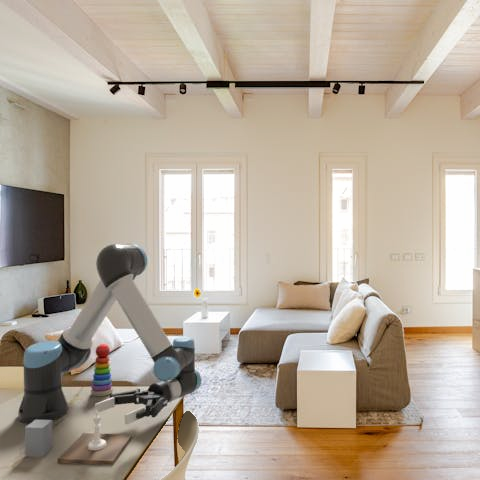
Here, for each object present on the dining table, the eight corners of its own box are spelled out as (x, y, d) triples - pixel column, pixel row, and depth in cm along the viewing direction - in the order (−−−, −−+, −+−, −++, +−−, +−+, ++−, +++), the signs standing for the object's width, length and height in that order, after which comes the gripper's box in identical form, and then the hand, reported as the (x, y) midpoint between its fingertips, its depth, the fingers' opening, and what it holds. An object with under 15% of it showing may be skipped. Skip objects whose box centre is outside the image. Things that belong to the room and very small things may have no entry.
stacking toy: (106, 397, 157) (105, 347, 157) (86, 396, 159) (86, 346, 159) (116, 390, 165) (116, 342, 165) (97, 389, 166) (97, 341, 166)
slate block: (25, 456, 114) (25, 427, 114) (35, 447, 119) (35, 419, 119) (42, 457, 114) (42, 427, 114) (52, 448, 119) (52, 420, 119)
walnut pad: (57, 462, 111) (57, 459, 111) (83, 436, 126) (83, 433, 126) (112, 464, 110) (112, 460, 110) (132, 437, 125) (132, 434, 125)
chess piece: (99, 439, 121) (99, 405, 121) (109, 445, 118) (109, 409, 118) (84, 446, 118) (83, 411, 118) (94, 452, 115) (93, 415, 114)
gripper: (192, 412, 131) (139, 438, 114) (138, 395, 146) (84, 416, 128) (192, 387, 131) (139, 410, 114) (138, 373, 146) (84, 392, 128)
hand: (110, 414), depth 121 cm, fingers open, 13 cm apart
